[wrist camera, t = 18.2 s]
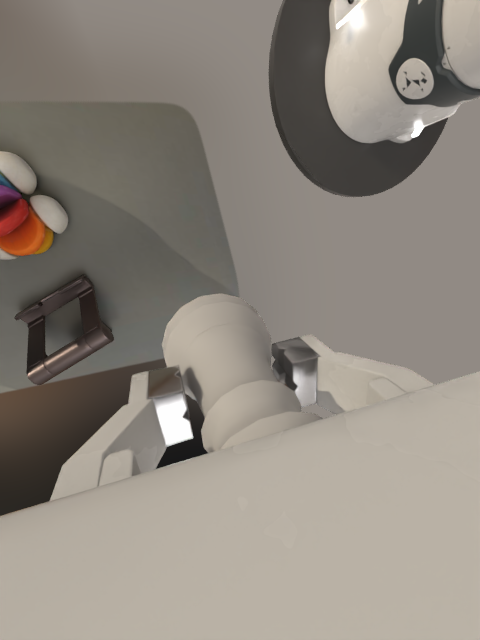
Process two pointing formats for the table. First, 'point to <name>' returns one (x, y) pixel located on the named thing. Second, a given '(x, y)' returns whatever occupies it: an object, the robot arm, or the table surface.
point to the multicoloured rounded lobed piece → (25, 211)
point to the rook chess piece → (230, 371)
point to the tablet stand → (77, 350)
